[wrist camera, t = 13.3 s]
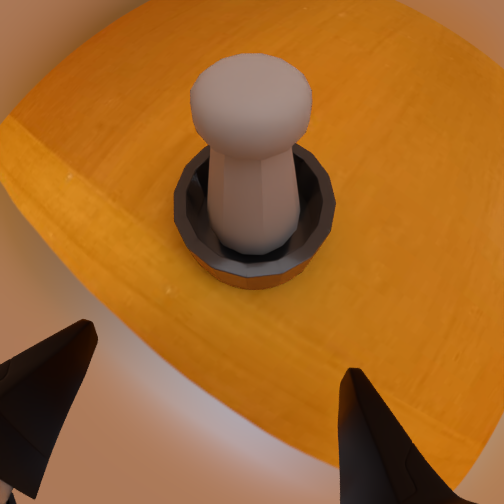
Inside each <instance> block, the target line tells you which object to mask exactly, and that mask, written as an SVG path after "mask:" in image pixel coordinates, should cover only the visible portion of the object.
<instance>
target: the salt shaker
mask: <svg viewBox="0 0 504 504" xmlns="http://www.w3.org/2000/svg"><path fill="white" fill-rule="evenodd" d="M190 104H191V111H192V117H193V122H194V125H195V128H196V130H197V133H198V134H199V135H200V136H201V137H202V138H203V139H204V140H205V141H206V142H207V144H208V145H209V146H210V162H209V179H208V199H207V212H208V217H209V223H210V228H211V229H212V231H213V232H214V234H215V235H216V236H217V238H218V239H219V240H220V242H221V243H222V244H223V245H224V246H226V247H228V248H230V249H232V250H235V251H237V252H239V253H241V254H249V255H265V254H267V253H269V252H271V251H273V250H275V249H277V248H279V247H281V246H283V245H284V244H285V242H286V241H287V240H288V239H289V238H290V237H291V235H292V234H293V233H294V232H295V231H296V230H297V225H298V220H299V214H300V204H299V196H298V188H297V181H296V174H295V167H294V160H293V153H292V146H293V145H294V144H295V143H296V142H297V141H298V140H299V139H300V138H301V137H302V136H303V135H304V134H305V133H306V130H307V127H308V124H309V120H310V114H311V107H312V90H311V88H310V86H309V84H308V82H307V80H306V78H305V76H304V74H302V73H301V72H300V71H299V70H297V69H296V68H294V67H293V66H291V65H290V64H288V63H287V62H285V61H284V60H282V59H280V58H277V57H273V56H269V55H266V54H238V55H234V56H231V57H227V58H223V59H221V60H219V61H218V62H216V63H215V64H213V65H212V66H210V67H209V68H207V69H206V70H205V71H204V72H202V73H201V74H200V75H199V77H198V78H197V80H196V82H195V83H194V85H193V87H192V89H191V90H190Z"/></svg>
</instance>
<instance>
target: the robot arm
mask: <svg viewBox="0 0 504 504" xmlns="http://www.w3.org/2000/svg"><path fill="white" fill-rule="evenodd" d="M97 342H98V336H97V333H96V330H95V327H94V324H93V322H91V321H89V320H86V319H81V320H79V321H77V322H76V323H74V324H72V325H70V326H68V327H67V328H65V329H63V330H61V331H59V332H58V333H56V334H54V335H52V336H50V337H49V338H47V339H45V340H43V341H41V342H39V343H38V344H36V345H34V346H32V347H30V348H29V349H27V350H25V351H23V352H22V353H20V354H18V355H16V356H14V357H13V358H12V359H9V360H7V361H6V362H4V363H2V364H0V504H16V501H15V499H14V495H13V493H12V490H13V488H15V489H17V490H18V491H20V492H22V493H23V494H25V495H27V496H29V497H31V498H32V499H35V498H36V496H37V493H38V490H39V487H40V484H41V481H42V478H43V475H44V472H45V469H46V467H47V464H48V461H49V460H48V459H49V458H50V455H51V453H52V450H53V448H54V445H55V443H56V440H57V438H58V435H59V433H60V430H61V428H62V426H63V423H64V421H65V419H66V416H67V414H68V412H69V409H70V407H71V405H72V403H73V401H74V398H75V396H76V394H77V392H78V390H79V388H80V386H81V383H82V381H83V379H84V377H85V374H86V372H87V369H88V367H89V364H90V361H91V358H92V355H93V353H94V350H95V348H96V345H97ZM338 442H339V465H340V504H477V503H474V502H470V501H467V500H465V499H462V498H460V497H459V496H457V495H456V494H455V493H454V492H453V491H452V490H451V489H450V488H449V487H448V486H447V484H446V483H445V482H444V481H443V480H442V479H441V478H440V476H439V475H438V474H437V473H436V472H435V471H434V470H433V468H432V467H431V466H430V465H429V464H428V462H427V461H426V460H425V459H424V457H423V456H422V454H421V453H420V452H419V450H418V449H417V447H416V446H415V445H414V443H412V440H411V439H410V437H409V436H408V435H407V433H406V432H405V430H404V429H403V427H402V426H401V425H400V423H399V422H398V420H397V419H396V417H395V416H394V415H393V413H392V412H391V410H390V409H389V408H388V406H387V405H386V403H385V402H384V401H383V399H382V398H381V396H380V395H379V393H378V392H377V391H376V389H375V388H374V386H373V385H372V384H371V382H370V381H369V379H368V378H367V377H366V375H365V374H364V373H363V371H362V370H361V369H360V368H348V369H347V371H346V373H345V375H344V377H343V379H342V381H341V383H340V390H339V412H338Z"/></svg>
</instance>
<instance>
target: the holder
mask: <svg viewBox="0 0 504 504" xmlns="http://www.w3.org/2000/svg"><path fill="white" fill-rule="evenodd" d="M292 153H293V160H294V167H295V174H296V181H297V188H298V196H299V204H300V214H299V220H298V225H297V230H296V231H295V232H294V233H293V234H292V235H291V237H290V238H289V239H288V240H287V241H286V242H285V244H284V245H283V246H281V247H279V248H277V249H275V250H273V251H271V252H269V253H267V254H265V255H249V254H241V253H239V252H237V251H235V250H232V249H230V248H228V247H226V246H224V245H223V244H222V243H221V242H220V240H219V239H218V238H217V236H216V235H215V234H214V232H213V231H212V229H211V228H210V223H209V217H208V212H207V199H208V179H209V162H210V146H209V145H208V146H206V147H204V148H203V149H202V150H201V151H200V152H199V153H198V154H197V155H196V156H195V157H194V158H193V159H192V160H191V161H190V162H189V163H188V164H187V165H186V166H185V168H184V170H183V172H182V175H181V177H180V179H179V181H178V184H177V186H176V188H175V191H174V222H175V224H176V226H177V228H178V230H179V232H180V234H181V236H182V238H183V241H184V243H185V245H186V247H187V248H188V249H189V251H190V252H191V253H192V255H193V256H194V257H195V259H196V260H197V261H198V263H199V264H200V265H201V266H202V267H203V268H205V269H206V270H207V271H208V272H209V273H210V274H211V275H212V276H214V277H215V278H217V279H218V280H219V281H221V282H224V283H226V284H228V285H231V286H233V287H237V288H242V289H250V290H260V289H267V288H272V287H275V286H279V285H281V284H283V283H285V282H287V281H289V280H291V279H292V278H294V277H295V276H297V275H298V274H300V273H301V272H302V271H303V270H304V269H305V267H306V266H307V265H308V263H309V262H310V261H311V259H312V258H313V257H314V255H315V254H316V252H317V251H318V250H319V248H320V247H321V245H322V244H323V242H324V241H325V239H326V238H327V236H328V235H329V233H330V231H331V227H332V222H333V217H334V211H335V206H336V201H335V197H334V193H333V189H332V185H331V181H330V177H329V175H328V173H327V172H326V171H325V169H324V168H323V167H322V166H321V164H320V163H319V162H318V160H317V159H316V158H315V156H314V155H313V154H312V153H311V152H309V151H308V150H306V149H304V148H303V147H301V146H300V145H298V144H296V143H295V144H294V145H293V146H292Z"/></svg>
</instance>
